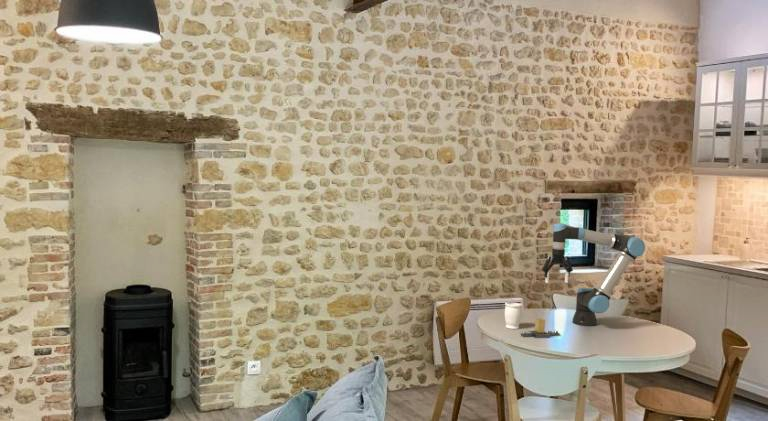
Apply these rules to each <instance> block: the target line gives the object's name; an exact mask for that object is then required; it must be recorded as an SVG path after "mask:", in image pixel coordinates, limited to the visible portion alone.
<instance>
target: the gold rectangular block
mask: <svg viewBox="0 0 768 421" xmlns="http://www.w3.org/2000/svg"><path fill="white" fill-rule="evenodd" d="M545 324H546V320H545V319H543V318H535V323H534V325H535V326H534V331H535V333H536V334H544V332H545V326H546V325H545Z"/></svg>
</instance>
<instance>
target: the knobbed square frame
mask: <svg viewBox="0 0 768 421" xmlns="http://www.w3.org/2000/svg"><path fill="white" fill-rule="evenodd" d="M520 335H521V336H520V337H522V336H523V337H522V338H535V339H549V338H551V337H560V332H559V331H558V330H548V331H547V332H546V331H544V334H536V333H535V330H528V331H521V333H520Z"/></svg>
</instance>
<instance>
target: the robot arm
mask: <svg viewBox="0 0 768 421" xmlns="http://www.w3.org/2000/svg"><path fill="white" fill-rule="evenodd" d="M567 240H578V241H582V242H587V243H590V244H596V245H600V246H605V247H607V248H608V249H611V250H615V251H617V256H616V257H615V259H614V261H613V263H612V264H611V265H610V267H609V268H608V270H607V271H606V273H605V274H604V276H603V278H602V279H601V281H600V282H599V284H598V286H596V287H592V288H591V287H590V288H589V287H588V288H587V287H579V288H578V289H577V290H576V303H575V305H576V306H575V312H574V315H573V317H572V323H573V324H576V325H578V326H586V327H594V326H597V324H598V320H597V316H596V314H603V313H605V312H607V310H608V309H609V307H610V300H611V298H612V297H611V293H612V292H613V291H614V289H615V287H616V286H617V284H618V282H620V280H621V278H622V277H623V276H624V273H625V272H626V270H627V268H628V267H629V265H630V264H631V263H632V262H635V261H636V260H637V257H641V256H642V255H643V254H644V253H645V252H646V245H645V242H644V240H643V239H642V238H640V237H638V236H632V235H628V234H616V233H604V232H600V231H599V232H598V231H594V230H592V229H591V230H590V229H586V228H583V227H581V226H578V227H577V226H571V225H567V224H566V223H554V224H553V231H552V250H551V251H552V252H551V256H549V255H547V258H546V260H545V263H544V264H543V266H542V268H541V271H542V272H544V279H545V280H544V282H545V283H546V284H549V281H550V280H549V278H550V272H549V271H550V270H551V269H552V268H553V267H554V265H557V264H559V265H560V264H561V266H562V267H563V269H565V273H564V283H566V284H568V283H569V278H570V274H571V273H572V272H573V271H574V270H573V267H572V264H571V262H570V257H569V256H567V255H566V241H567ZM565 255H566V256H565ZM564 260H565V261H564Z"/></svg>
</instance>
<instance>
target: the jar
mask: <svg viewBox="0 0 768 421" xmlns="http://www.w3.org/2000/svg"><path fill="white" fill-rule="evenodd" d="M504 305H505V307H504V320H505V328H507V329H511V330H517V329H520V323H521V320H522V314H523V313H522V307H523V304H522V303H521V302H515V301H507V302H505V303H504Z"/></svg>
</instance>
